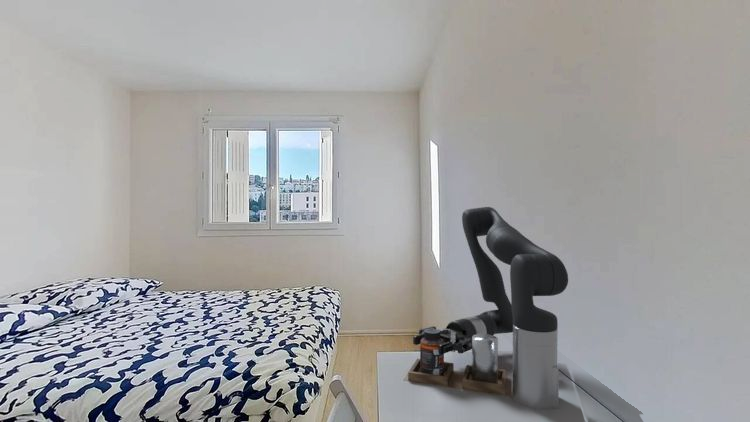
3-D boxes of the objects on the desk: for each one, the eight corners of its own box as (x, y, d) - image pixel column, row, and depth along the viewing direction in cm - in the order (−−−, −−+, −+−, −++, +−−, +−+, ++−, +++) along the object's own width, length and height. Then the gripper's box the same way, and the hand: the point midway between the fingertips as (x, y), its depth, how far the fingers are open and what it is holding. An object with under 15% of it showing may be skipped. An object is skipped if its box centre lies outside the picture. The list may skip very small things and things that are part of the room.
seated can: (498, 380, 97) (498, 335, 97) (497, 390, 91) (497, 343, 91) (473, 376, 99) (473, 332, 99) (470, 386, 93) (470, 340, 93)
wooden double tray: (511, 383, 98) (511, 370, 98) (510, 401, 88) (510, 387, 88) (413, 369, 106) (413, 357, 106) (403, 384, 97) (403, 371, 97)
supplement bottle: (443, 381, 96) (443, 335, 96) (419, 379, 97) (419, 333, 97) (444, 371, 102) (444, 328, 102) (421, 369, 103) (421, 326, 103)
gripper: (446, 313, 114) (406, 323, 104) (488, 324, 103) (449, 337, 93) (446, 339, 114) (406, 352, 104) (488, 352, 103) (448, 369, 93)
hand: (426, 345), depth 98 cm, fingers open, 8 cm apart
